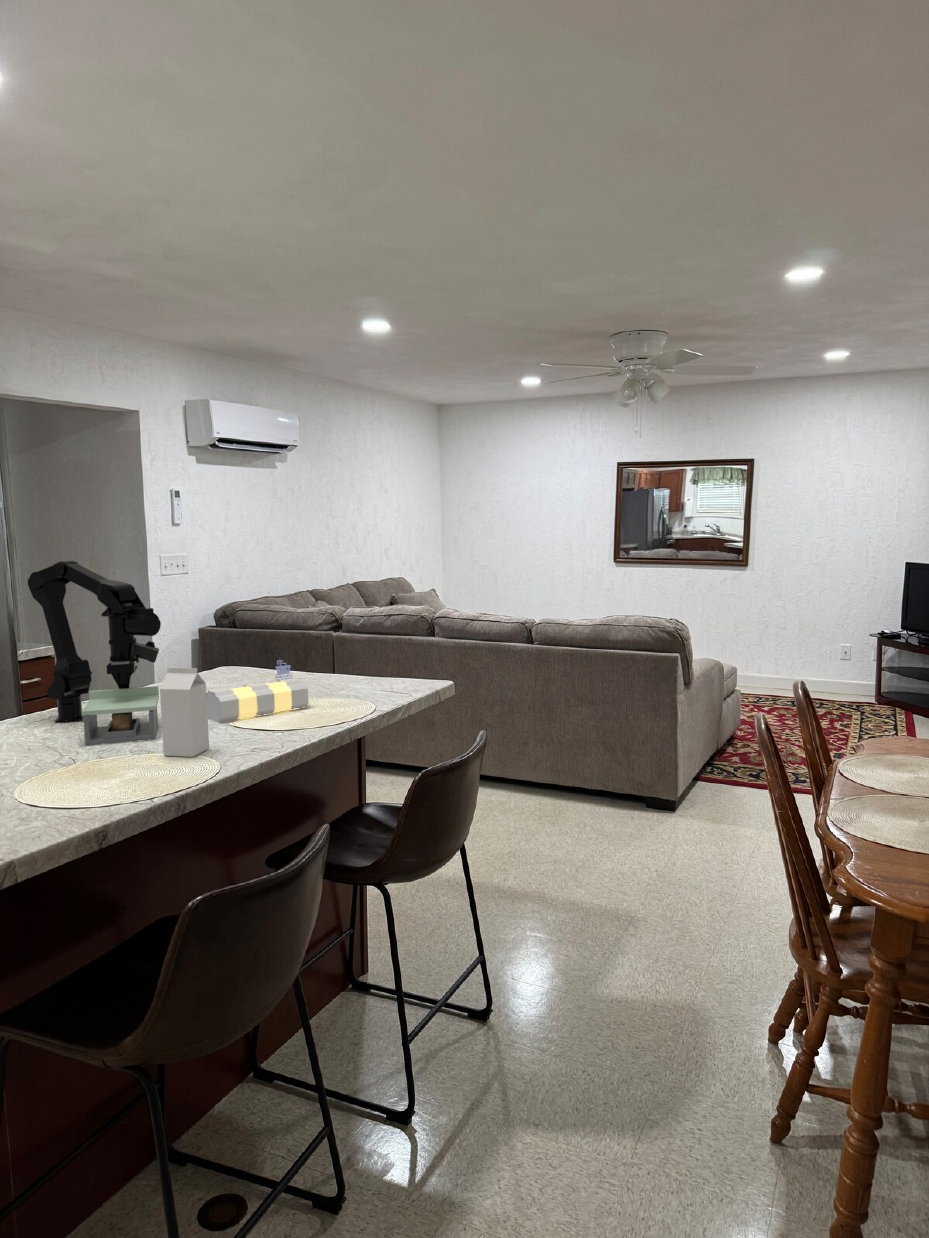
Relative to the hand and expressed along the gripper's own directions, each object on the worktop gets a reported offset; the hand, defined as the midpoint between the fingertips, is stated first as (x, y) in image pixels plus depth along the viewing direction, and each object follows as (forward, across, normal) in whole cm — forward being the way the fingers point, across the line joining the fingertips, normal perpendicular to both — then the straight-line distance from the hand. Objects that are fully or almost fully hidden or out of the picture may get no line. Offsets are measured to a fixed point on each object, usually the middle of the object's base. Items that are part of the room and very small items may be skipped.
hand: (125, 695), depth 211 cm
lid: (+1, -9, 0) cm, 9 cm away
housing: (+8, -10, 0) cm, 13 cm away
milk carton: (+8, -32, -15) cm, 36 cm away
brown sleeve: (+6, -14, 0) cm, 15 cm away
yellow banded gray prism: (+8, +3, -32) cm, 33 cm away
